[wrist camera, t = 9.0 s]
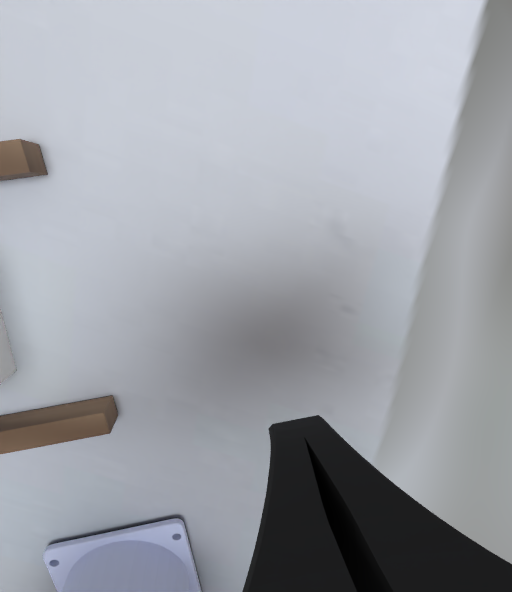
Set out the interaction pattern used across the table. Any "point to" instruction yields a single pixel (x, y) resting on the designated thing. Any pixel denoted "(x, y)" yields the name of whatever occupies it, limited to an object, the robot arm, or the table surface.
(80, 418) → the u-shaped frame
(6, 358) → the white cube
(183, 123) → the table surface
